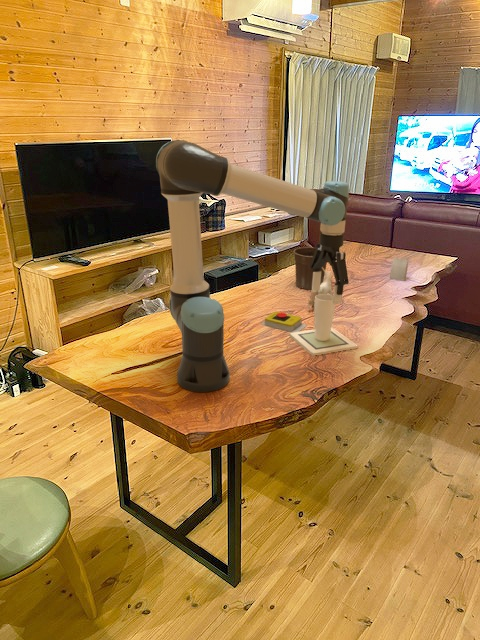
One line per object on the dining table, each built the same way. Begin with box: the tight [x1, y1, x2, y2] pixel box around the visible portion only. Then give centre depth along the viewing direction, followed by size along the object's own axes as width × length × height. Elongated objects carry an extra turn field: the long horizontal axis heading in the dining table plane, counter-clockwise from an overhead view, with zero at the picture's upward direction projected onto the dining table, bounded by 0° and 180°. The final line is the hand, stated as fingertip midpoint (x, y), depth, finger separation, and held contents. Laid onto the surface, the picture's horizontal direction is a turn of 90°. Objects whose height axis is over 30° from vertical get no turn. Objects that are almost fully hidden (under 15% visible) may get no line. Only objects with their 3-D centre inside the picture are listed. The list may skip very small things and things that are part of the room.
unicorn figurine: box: [307, 267, 334, 308], centre depth 197 cm, size 7×20×13 cm, turn 156°
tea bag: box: [389, 257, 409, 282], centre depth 233 cm, size 4×7×10 cm, turn 58°
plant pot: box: [293, 246, 328, 291], centre depth 220 cm, size 16×16×16 cm
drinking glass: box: [313, 293, 336, 341], centre depth 164 cm, size 7×7×15 cm
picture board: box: [288, 326, 359, 357], centre depth 167 cm, size 17×17×1 cm
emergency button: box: [260, 311, 308, 333], centre depth 180 cm, size 9×4×15 cm
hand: (325, 296), depth 160 cm, fingers open, 13 cm apart
